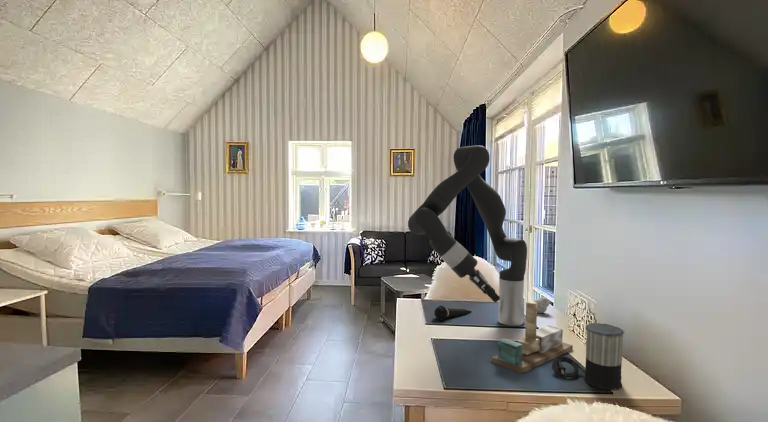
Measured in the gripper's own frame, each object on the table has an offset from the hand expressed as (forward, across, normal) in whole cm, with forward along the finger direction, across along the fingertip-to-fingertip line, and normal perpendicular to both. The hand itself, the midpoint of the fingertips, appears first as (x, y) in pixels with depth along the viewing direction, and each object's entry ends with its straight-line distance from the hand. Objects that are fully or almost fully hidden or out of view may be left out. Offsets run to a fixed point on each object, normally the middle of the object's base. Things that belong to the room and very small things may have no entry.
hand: (495, 296), depth 128 cm
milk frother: (+29, -13, -3) cm, 32 cm away
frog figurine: (+33, +50, -6) cm, 60 cm away
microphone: (+7, +39, +20) cm, 44 cm away
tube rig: (+22, +1, +4) cm, 22 cm away
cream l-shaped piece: (+22, +3, +1) cm, 22 cm away
